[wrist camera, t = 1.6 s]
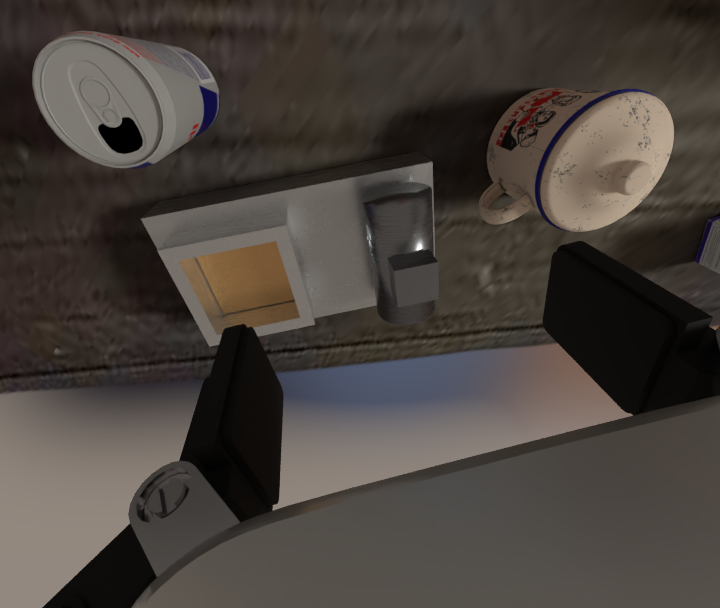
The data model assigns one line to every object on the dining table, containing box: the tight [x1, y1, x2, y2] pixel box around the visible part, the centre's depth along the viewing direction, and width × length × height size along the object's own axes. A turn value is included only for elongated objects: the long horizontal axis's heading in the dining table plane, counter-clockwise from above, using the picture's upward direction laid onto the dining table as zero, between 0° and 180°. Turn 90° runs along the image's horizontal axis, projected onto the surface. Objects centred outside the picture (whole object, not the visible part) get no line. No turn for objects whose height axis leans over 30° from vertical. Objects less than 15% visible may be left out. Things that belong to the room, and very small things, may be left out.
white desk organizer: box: [141, 151, 439, 346], centre depth 28 cm, size 22×12×11 cm, turn 99°
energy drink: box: [32, 31, 220, 169], centre depth 20 cm, size 5×5×12 cm
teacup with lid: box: [478, 88, 674, 232], centre depth 26 cm, size 12×9×12 cm
